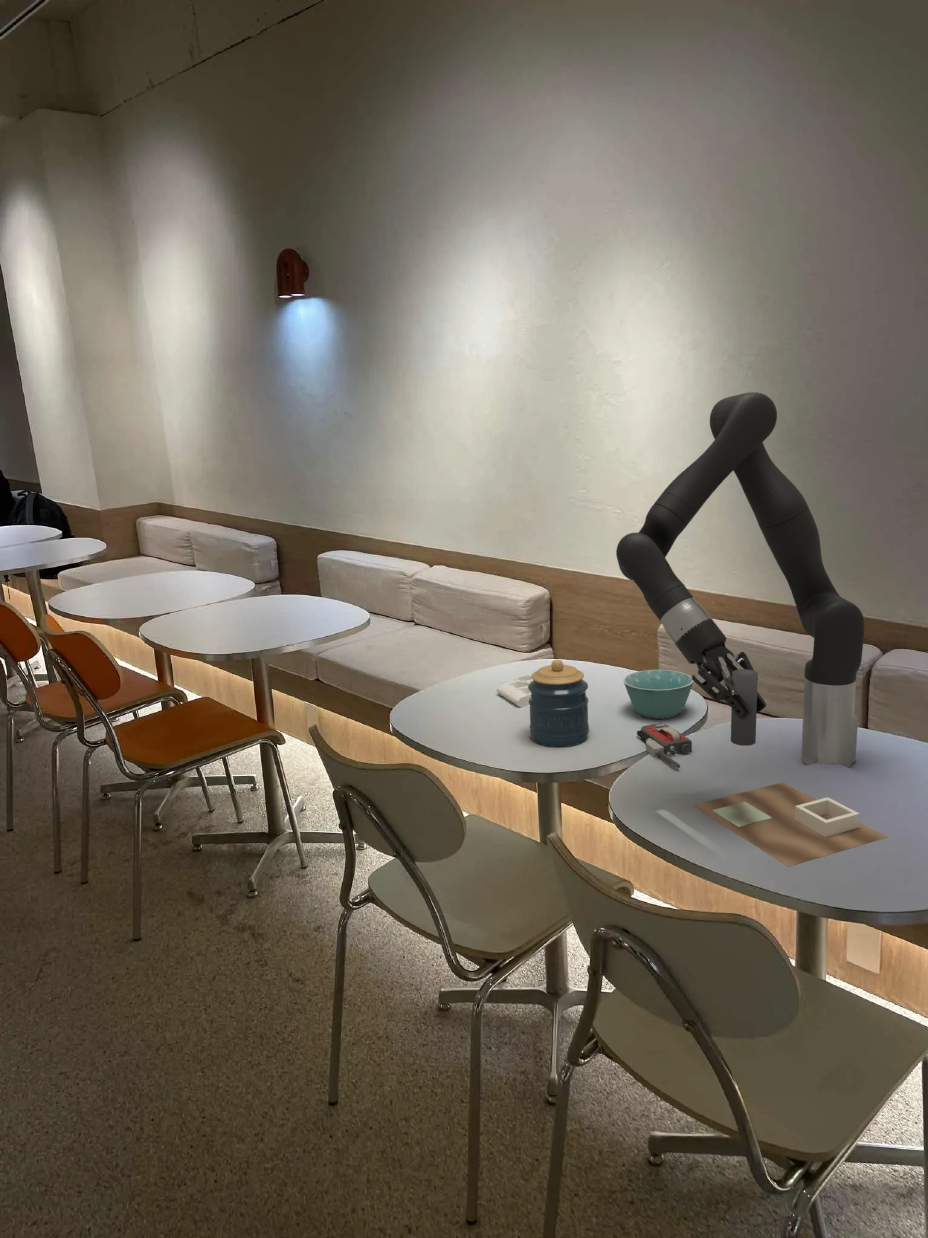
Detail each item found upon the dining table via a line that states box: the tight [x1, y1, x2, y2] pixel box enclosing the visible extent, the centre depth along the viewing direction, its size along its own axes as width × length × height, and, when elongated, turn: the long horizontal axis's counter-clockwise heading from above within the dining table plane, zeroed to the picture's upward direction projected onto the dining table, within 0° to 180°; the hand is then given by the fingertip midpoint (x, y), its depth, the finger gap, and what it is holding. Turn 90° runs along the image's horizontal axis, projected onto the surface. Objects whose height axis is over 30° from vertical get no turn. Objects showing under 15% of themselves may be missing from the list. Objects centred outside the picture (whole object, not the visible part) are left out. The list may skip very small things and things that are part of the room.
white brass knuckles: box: [496, 674, 533, 708], centre depth 225 cm, size 3×18×15 cm
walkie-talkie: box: [636, 722, 693, 769], centre depth 186 cm, size 9×4×20 cm
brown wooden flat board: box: [692, 782, 888, 868], centre depth 151 cm, size 20×24×2 cm
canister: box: [528, 659, 590, 748], centre depth 195 cm, size 13×13×18 cm
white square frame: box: [795, 796, 861, 837], centre depth 149 cm, size 7×7×2 cm
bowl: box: [623, 669, 694, 720], centre depth 208 cm, size 16×16×8 cm
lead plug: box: [730, 669, 759, 747], centre depth 149 cm, size 4×4×12 cm
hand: (754, 712), depth 148 cm, fingers closed on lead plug, 4 cm apart
